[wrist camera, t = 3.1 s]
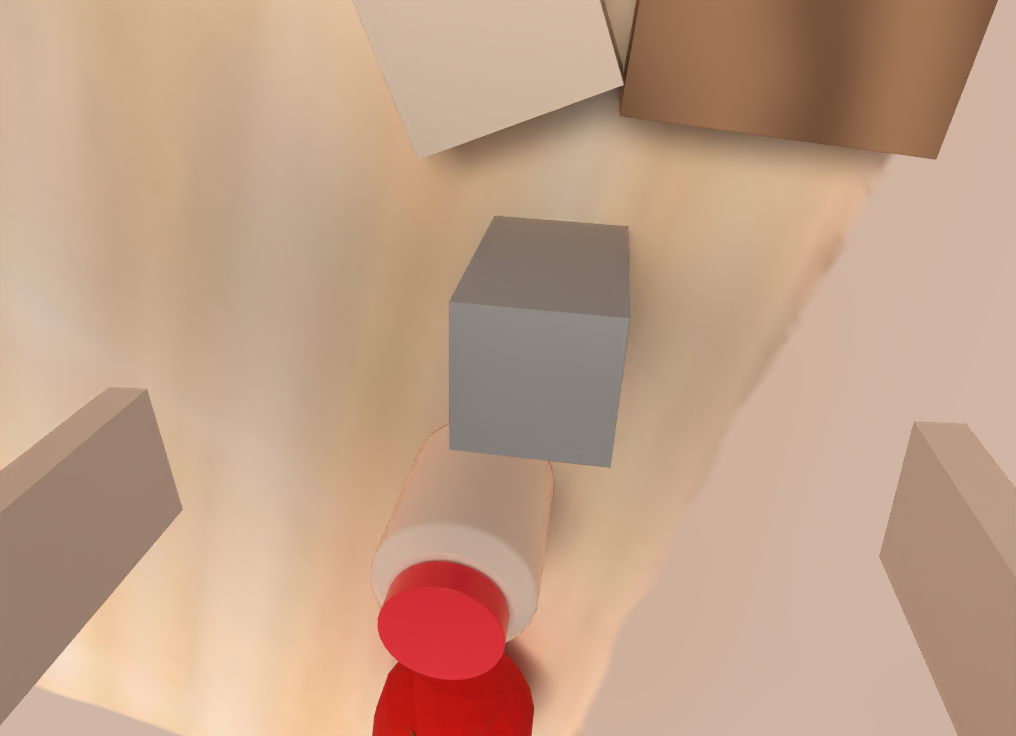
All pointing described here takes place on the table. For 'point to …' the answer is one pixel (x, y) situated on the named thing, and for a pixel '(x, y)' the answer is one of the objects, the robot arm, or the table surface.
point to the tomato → (455, 704)
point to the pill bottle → (461, 559)
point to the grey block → (487, 62)
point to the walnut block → (806, 68)
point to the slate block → (540, 341)
